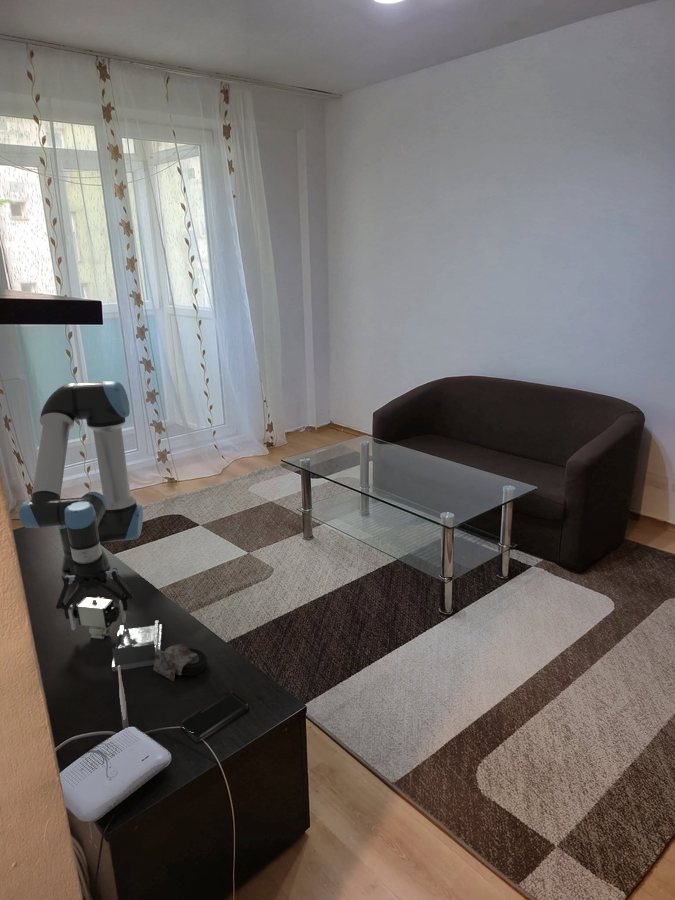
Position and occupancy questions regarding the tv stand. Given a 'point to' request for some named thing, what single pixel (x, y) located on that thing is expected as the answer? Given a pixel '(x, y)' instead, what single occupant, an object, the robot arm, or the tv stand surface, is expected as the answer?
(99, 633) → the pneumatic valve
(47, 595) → the tv stand surface
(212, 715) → the phone
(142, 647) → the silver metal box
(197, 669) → the caster wheel
